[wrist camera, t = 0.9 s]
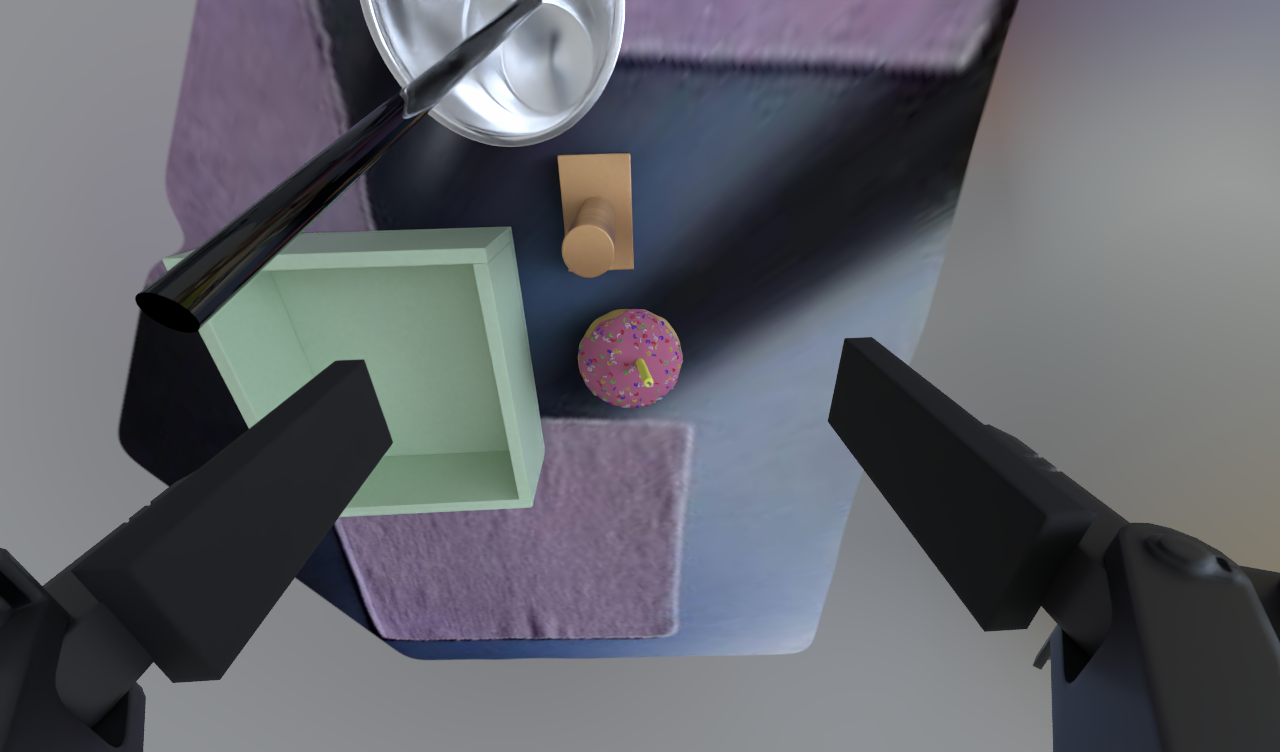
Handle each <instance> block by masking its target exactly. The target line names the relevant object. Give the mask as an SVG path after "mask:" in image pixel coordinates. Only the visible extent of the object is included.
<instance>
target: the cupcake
mask: <svg viewBox="0 0 1280 752" xmlns="http://www.w3.org/2000/svg"><path fill="white" fill-rule="evenodd" d="M578 352H579V353H578V364H579V370H580V374H581V375H582V377H583V379H584V381H585V383H586V385H587V388H589V389H590V390H591V391H592V392H593V393H594V395H596V396H597V397H598V398H600V399H602V400H604V401H606V403H607V402H608V403H609V404H613V405H616V406H620V407H623V408H625V407H645V406H648V405H650V404H651V403H656V402H655V401H656V400H658V399H659V400H660V398H661V397H662V396H664V395H665V394H666V393H667V392H669V391H670V390H671V389H672V390H673V386H674V385H675V384H676V382H677V380H678V375H679V372H680V369H681V365H682V362H683V355H682V351H681V346H680V342H679V339H678V336H677V334H676V333H675V331H674V330H673V328H672V327H671V326H670V324H669V323H668V322H667V321H666V320H665V319H664V318H662V317H659V316H657V315H655V314H653V313H651V312H649V311H647V310H643V309H618V310H614V311H611V312H609V313H607V314H605V315H603V316H601V317H599V318H597V319H596V320H595V321H594V322H593V323H592V324H591V325H590V327H589V328H588V330H587V331H586V333H585V335H584V337H583V339H582V340H581V342H580V344H579V350H578ZM662 398H663V397H662ZM662 398H661V399H662ZM608 403H607V404H608ZM609 404H608V405H609Z"/></svg>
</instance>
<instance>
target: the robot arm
mask: <svg viewBox="0 0 1280 752" xmlns="http://www.w3.org/2000/svg"><path fill="white" fill-rule="evenodd" d="M828 422H829V424H830V425H831V426H832V428H833V429H834V430H835V432H836V433H837V434H838V436H839V437H840V438H841V440H842V441H843V442H844V444H845V445H846V446H847V448H848V449H849V450H850V452H851V453H852V454H853V456H854V457H855V458H856V460H857V461H858V463H859V464H860V465H861V467H862V468H863V469H864V471H865V472H866V473H867V475H868V476H869V477H870V478H871V480H872V481H873V483H874V484H875V485H876V487H877V488H878V489H879V491H880V492H881V493H882V495H883V496H884V497H885V499H886V500H887V501H888V503H889V504H890V505H891V507H892V508H893V509H894V511H895V512H896V513H897V515H898V516H899V517H900V519H901V520H902V521H903V523H904V524H905V526H906V527H907V528H908V529H909V531H910V532H911V533H912V535H913V536H914V538H915V539H916V540H917V542H918V543H919V544H920V546H921V547H922V548H923V550H924V551H925V552H926V553H927V555H928V556H929V558H930V559H931V560H932V562H933V563H934V564H935V566H936V567H937V568H938V570H939V571H940V572H941V574H942V575H943V576H944V578H945V579H946V580H947V582H948V583H949V584H950V586H951V587H952V588H953V590H954V591H955V593H956V594H957V595H958V596H959V598H960V599H961V600H962V602H963V603H964V604H965V606H966V607H967V608H968V610H969V611H970V612H971V614H972V615H973V616H974V618H975V619H976V621H977V622H978V623H979V625H980V626H981V627H982V629H983V630H984V631H1000V630H1016V629H1027V628H1028V626H1029V625H1030V623H1031V621H1032V619H1033V618H1034V616H1035V615H1036V613H1037V611H1038V610H1039V608H1040V606H1042V607H1043V608H1044V609H1045V610H1046V612H1047V613H1048V614H1049V615H1050V616H1051V617H1052V618H1053V619H1054V620H1055V621H1056V623H1057V626H1056V627H1055V629H1054V630H1053V632H1052V633H1051V635H1050V636H1049V638H1048V639H1047V641H1046V642H1045V644H1044V645H1043V647H1042V648H1041V650H1040V651H1039V653H1038V655H1037V656H1036V658H1035V661H1034V664H1033V666H1035V667H1037V668H1039V669H1042V667H1043V666H1044V664H1045V663H1046V661H1047V660H1049V659H1051V682H1052V720H1053V752H1280V573H1278V572H1272V571H1266V570H1260V569H1255V568H1249V567H1244V566H1239V565H1237V564H1236V563H1235V562H1233V561H1232V560H1231V559H1229V558H1228V557H1227V556H1225V555H1224V554H1223V553H1222V552H1220V551H1219V550H1217V549H1215V548H1213V547H1211V546H1210V545H1207V544H1206V543H1204V542H1202V541H1200V540H1198V539H1197V538H1194V537H1192V536H1189V535H1186V534H1184V533H1182V532H1179V531H1176V530H1174V529H1171V528H1167V527H1163V526H1159V525H1154V524H1150V523H1129V522H1128V521H1127V520H1125V519H1124V518H1123V517H1121V516H1120V515H1118V514H1117V513H1116V512H1115V511H1113V510H1112V509H1110V508H1109V507H1108V506H1107V505H1105V504H1104V503H1103V502H1101V501H1100V500H1099V499H1097V498H1096V497H1095V496H1093V495H1092V494H1091V493H1089V492H1088V491H1087V490H1085V489H1084V488H1083V487H1081V486H1080V485H1079V484H1077V483H1076V482H1075V481H1073V480H1072V479H1071V478H1069V477H1068V476H1066V475H1065V474H1064V473H1063V472H1057V470H1056V467H1055V466H1053V465H1052V464H1051V463H1049V462H1048V461H1047V460H1045V459H1044V458H1039V457H1038V454H1037V453H1036V452H1035V451H1033V450H1032V449H1030V448H1029V447H1028V446H1027V445H1025V444H1024V443H1023V442H1021V441H1020V440H1018V439H1017V438H1015V437H1013V436H1011V435H1009V434H1007V433H1005V432H1003V431H1001V430H999V429H997V428H995V427H993V426H991V425H984V424H982V423H981V422H980V421H978V420H977V419H976V418H975V417H973V416H972V415H971V414H969V413H968V412H967V411H966V410H964V409H963V408H962V407H961V406H959V405H958V404H957V403H955V402H954V401H953V400H951V399H950V398H949V397H948V396H946V395H945V394H944V393H942V392H941V391H940V390H939V389H937V388H936V387H935V386H933V385H932V384H931V383H930V382H928V381H927V380H926V379H925V378H923V377H922V376H921V375H919V374H918V373H917V372H916V371H914V370H913V369H912V368H910V367H909V366H908V365H907V364H905V363H904V362H903V361H902V360H900V359H899V358H898V357H896V356H895V355H894V354H893V353H891V352H890V351H889V350H887V349H886V348H885V347H884V346H882V345H881V344H880V343H879V342H877V341H876V340H875V339H873V338H872V337H867V338H845V340H844V344H843V349H842V354H841V359H840V364H839V369H838V374H837V379H836V384H835V389H834V394H833V399H832V403H831V408H830V413H829V418H828ZM392 444H393V440H392V437H391V435H390V432H389V429H388V426H387V423H386V420H385V417H384V415H383V412H382V409H381V406H380V403H379V400H378V397H377V395H376V392H375V389H374V386H373V383H372V380H371V377H370V375H369V372H368V369H367V366H366V363H365V360H364V359H360V360H337V361H334V362H333V363H332V364H330V365H329V366H328V367H327V368H325V369H324V370H323V371H321V372H320V373H319V374H318V375H316V376H315V377H314V378H313V379H311V380H310V381H309V382H308V383H306V384H305V385H304V386H303V387H301V388H300V389H299V390H298V391H296V392H295V393H294V394H292V395H291V396H290V397H289V398H287V399H286V400H285V401H284V402H282V403H281V404H280V405H279V406H277V407H276V408H275V409H274V410H272V411H271V412H270V413H269V414H267V415H266V416H265V417H263V418H262V419H261V420H260V421H258V422H257V423H256V424H255V425H253V426H252V427H251V428H250V429H248V430H247V431H246V432H245V433H243V434H242V435H241V436H240V437H238V438H237V439H236V440H234V441H233V442H232V443H231V444H229V445H228V446H227V447H226V448H224V449H223V450H222V451H221V452H219V453H218V454H217V455H216V456H214V457H213V458H212V459H211V460H209V461H208V462H207V463H205V464H204V465H203V466H202V467H200V468H199V469H198V470H197V471H195V472H193V473H191V474H190V475H188V476H186V477H184V478H182V479H180V480H179V481H177V482H175V483H174V484H173V485H171V486H170V487H169V488H167V489H166V490H165V491H164V492H162V493H161V494H160V495H159V496H157V497H156V498H155V499H153V500H152V501H151V505H150V506H144V507H143V508H142V509H141V510H139V511H138V512H137V513H135V514H134V515H133V516H132V517H130V518H129V522H128V523H123V524H121V525H120V526H119V527H118V528H116V529H115V530H114V531H112V532H111V533H110V534H109V535H107V536H106V537H105V538H104V539H102V540H101V541H100V542H99V543H97V544H96V545H95V546H93V547H92V548H91V549H89V550H88V551H87V552H86V553H84V554H83V555H82V556H81V557H79V558H78V559H77V560H75V561H74V562H73V563H72V564H70V565H69V566H68V567H66V568H65V569H64V570H63V571H61V572H60V573H59V574H57V575H56V576H55V577H54V578H52V579H51V580H50V581H48V582H47V583H46V584H45V585H43V586H41V585H40V584H39V583H38V582H37V581H36V580H35V579H34V578H33V577H32V576H31V574H30V573H28V571H27V570H26V569H25V568H24V567H23V566H22V565H21V564H20V563H19V562H18V561H17V560H16V559H15V558H14V557H13V556H12V555H11V554H10V553H9V552H8V551H7V550H6V549H2V548H0V752H143V741H144V721H145V701H146V700H145V699H146V697H145V695H144V692H143V689H142V687H141V686H140V685H138V684H137V683H136V681H137V680H138V679H139V678H140V676H141V675H142V674H143V673H144V672H145V671H146V670H147V669H148V667H149V666H150V665H151V664H152V663H153V662H154V663H155V664H156V665H157V666H158V667H159V668H160V669H161V670H162V671H163V672H164V674H165V675H166V676H167V677H168V678H169V679H170V680H171V681H172V682H173V683H176V682H193V681H209V680H220V679H221V678H222V676H223V675H224V673H225V672H226V671H227V669H228V668H229V667H230V665H231V664H232V662H233V661H234V660H235V658H236V657H237V656H238V654H239V653H240V651H241V650H242V649H243V647H244V646H245V645H246V643H247V642H248V641H249V639H250V638H251V637H252V635H253V634H254V632H255V631H256V630H257V628H258V627H259V626H260V624H261V623H262V621H263V620H264V619H265V617H266V616H267V615H268V613H269V612H270V610H271V609H272V608H273V606H274V605H275V604H276V602H277V601H278V600H279V598H280V597H281V596H282V594H283V593H284V591H285V590H286V589H287V587H288V586H289V585H290V583H291V581H292V580H293V579H294V578H295V576H296V575H297V574H298V572H299V571H300V570H301V568H302V567H303V565H304V564H305V563H306V561H307V560H308V559H309V557H310V556H311V554H312V553H313V552H314V550H315V549H316V548H317V546H318V545H319V544H320V542H321V541H322V539H323V538H324V537H325V535H326V534H327V533H328V531H329V530H330V529H331V527H332V526H333V524H334V523H335V522H336V520H337V519H338V518H339V516H340V515H341V513H342V512H343V511H344V509H345V508H346V507H347V505H348V504H349V503H350V501H351V500H352V498H353V497H354V496H355V494H356V493H357V492H358V490H359V489H360V487H361V486H362V485H363V483H364V482H365V481H366V479H367V478H368V477H369V475H370V474H371V472H372V471H373V470H374V468H375V467H376V466H377V464H378V463H379V461H380V460H381V459H382V457H383V456H384V455H385V453H386V452H387V451H388V449H389V448H390V446H391V445H392Z"/></svg>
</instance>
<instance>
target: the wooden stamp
mask: <svg viewBox="0 0 1280 752" xmlns="http://www.w3.org/2000/svg"><path fill="white" fill-rule="evenodd" d="M557 158H558V168H559V178H560V188H561V199H562V209H563V219H564V229H565V238H564V240H563V243H562V257H563V260H564V262H565V264H566V266H567V267H568V270H569V271H572V272H573V273H575V274H576V275H579V276H581V277H586V278H593V277H597V276H600V275H602V274H603V273H605V272H606V271H607V270H624V269H634V259H633V227H632V194H631V162H630V153H629V152H624V153H588V154H561V155H558V156H557Z"/></svg>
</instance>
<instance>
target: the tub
mask: <svg viewBox="0 0 1280 752" xmlns="http://www.w3.org/2000/svg"><path fill="white" fill-rule="evenodd" d="M193 251H194V250H192V251H188V252H185V253H181V254H177V255H173V256H169V257H165V258H162V261H163V263H164V265H165V267H166V269H167V271H168V270H169V269H171V268H172V267H173V266H175V265H176V264H177V263H178V262H180V261H181V260H182V259H184V258H185V257H186V256H187V255H189V254H190V253H191V252H193ZM198 331H199V333H200V335H201V337H202V339H203V340H204V342H205V344H206V346H207V348H208V350H209V352H210V354H211V356H212V358H213V360H214V362H215V364H216V366H217V368H218V370H219V371H220V373H221V375H222V377H223V379H224V381H225V383H226V385H227V387H228V389H229V391H230V393H231V395H232V397H233V399H234V401H235V402H236V404H237V406H238V408H239V410H240V412H241V414H242V416H243V418H244V420H245V422H246V424H247V426H248V428H249V429H250V428H251V427H252V426H253V425H255V424H256V423H257V422H258V421H260V420H261V419H262V418H263V417H265V416H266V415H267V414H269V413H270V412H271V411H272V410H274V409H275V408H276V407H277V406H279V405H280V404H281V403H282V402H284V401H285V400H286V399H287V398H289V397H290V396H291V395H292V394H294V393H295V392H296V391H298V390H299V389H300V388H301V387H303V386H304V385H305V384H306V383H308V382H309V381H310V380H311V379H313V378H314V377H315V376H316V375H318V374H319V373H320V372H321V371H323V370H324V369H325V368H327V367H328V366H329V365H330V364H332V363H333V362H334V361H337V360H360V359H364V360H365V363H366V366H367V369H368V372H369V375H370V377H371V380H372V383H373V386H374V389H375V392H376V395H377V397H378V400H379V403H380V406H381V409H382V412H383V415H384V417H385V420H386V423H387V426H388V429H389V432H390V435H391V437H392V440H393V444H392V445H391V446H390V448H389V449H388V451H387V452H386V453H385V455H384V456H383V457H382V459H381V460H380V461H379V463H378V464H377V466H376V467H375V468H374V470H373V471H372V472H371V474H370V475H369V477H368V478H367V479H366V481H365V482H364V483H363V485H362V486H361V487H360V489H359V490H358V492H357V493H356V494H355V496H354V497H353V498H352V500H351V501H350V503H349V504H348V505H347V507H346V508H345V509H344V511H343V512H342V513H341V515H340V516H339V517H349V516H369V515H389V514H410V513H430V512H450V511H470V510H490V509H510V508H530V507H532V505H533V501H534V497H535V492H536V488H537V484H538V480H539V475H540V471H541V467H542V463H543V458H544V454H545V446H544V440H543V433H542V426H541V420H540V413H539V407H538V400H537V393H536V387H535V380H534V374H533V367H532V360H531V354H530V347H529V341H528V334H527V327H526V321H525V314H524V307H523V301H522V294H521V288H520V281H519V274H518V268H517V261H516V255H515V248H514V241H513V235H512V228H511V227H479V228H448V229H417V230H386V231H355V232H324V233H301V234H300V235H299V236H297V237H296V238H295V239H294V240H293V241H292V242H291V243H290V244H289V245H288V246H287V247H286V248H285V249H284V250H283V251H282V252H281V253H279V254H278V255H277V256H276V257H275V258H274V259H273V260H272V261H271V262H270V263H269V264H268V265H267V266H266V267H265V268H264V269H263V270H262V271H260V272H259V273H258V274H257V275H256V276H255V277H254V278H253V279H252V280H251V281H250V282H249V283H248V284H247V285H246V286H245V287H244V288H242V289H241V290H240V291H239V292H238V293H237V294H236V295H235V296H234V297H233V298H232V299H231V300H230V301H229V302H228V303H227V304H226V305H225V306H223V307H222V308H221V309H220V310H219V311H218V312H217V313H216V314H215V315H214V316H213V317H212V318H211V319H210V320H209V321H208V322H207V323H206V324H204V325H203V326H202V327H201V328H200V329H199V330H198Z"/></svg>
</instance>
